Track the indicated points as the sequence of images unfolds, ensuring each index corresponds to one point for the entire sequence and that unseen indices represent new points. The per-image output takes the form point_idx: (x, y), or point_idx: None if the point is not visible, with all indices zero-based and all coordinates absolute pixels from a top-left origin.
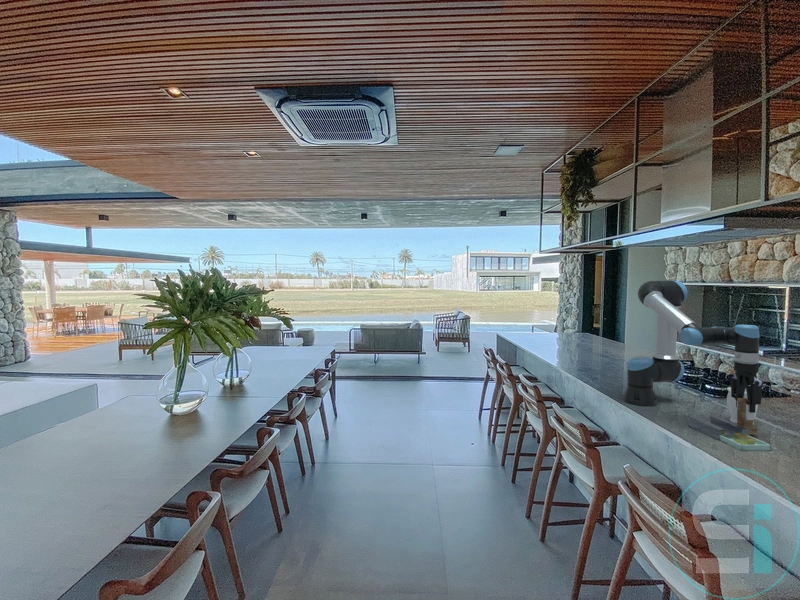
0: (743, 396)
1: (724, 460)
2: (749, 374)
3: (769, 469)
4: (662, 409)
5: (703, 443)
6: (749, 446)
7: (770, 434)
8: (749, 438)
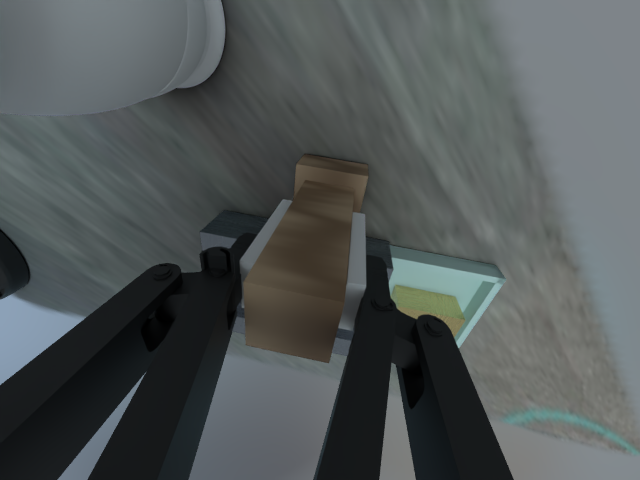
0: (224, 299)
1: None
2: None
3: (559, 384)
4: (48, 239)
5: None
6: (463, 335)
7: (367, 50)
8: (451, 330)
